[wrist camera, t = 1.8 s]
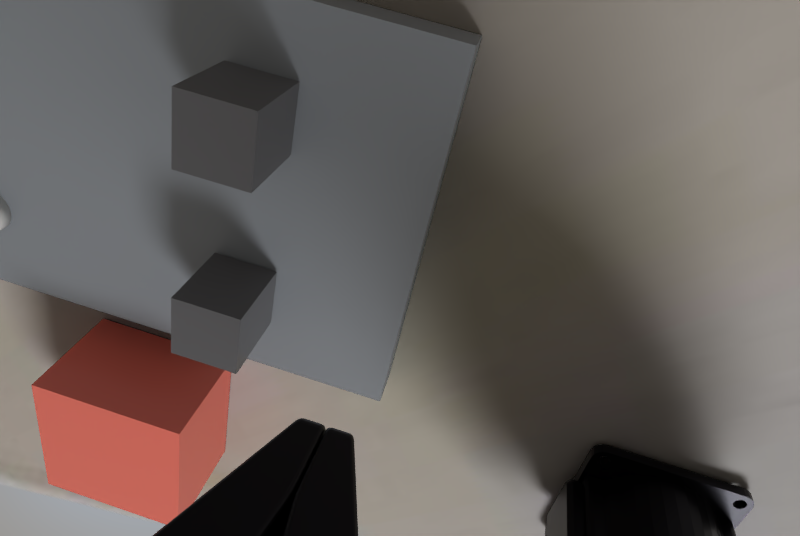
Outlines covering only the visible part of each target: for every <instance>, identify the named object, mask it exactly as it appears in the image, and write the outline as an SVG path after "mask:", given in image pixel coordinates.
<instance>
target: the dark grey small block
mask: <svg viewBox="0 0 800 536" xmlns="http://www.w3.org/2000/svg"><path fill="white" fill-rule="evenodd" d="M276 276H277V272H276V271H273V270H269V269H266V268H263V267H260V266H256V265H253V264H250V263H247V262H243V261H240V260H237V259H234V258H231V257H227V256H224V255H221V254H218V253H214V254H213V255H212V256H211V257H210V258H209V259H208V260H207V261H206V262H205V263H204V264H203V265H202V266H201V267H200V268H199V269H198V270H197V272H196V273H195V274H194V275H193V276H192V277H191V278H190V279H189V280H188V281H187V282H186V283H185V284H184V285H183V286H182V287H181V288H180V289H179V290H178V291H177V292H176V293H175V294H174V295H173V296H172V297H171V353H173V354H176V355H180V356H183V357H186V358H189V359H192V360H195V361H198V362H201V363H204V364H207V365H210V366H213V367H217V368H220V369H223V370H226V371H229V372H232V373H235V374H237V372H238V371H239V369H240V368H241V366H242V365H243V363H244V362H245V360H246V359H247V357H248V356H249V354H250V353H251V351H252V350H253V348H254V347H255V345H256V344H257V342H258V341H259V340H260V338H261V337H262V335H263V334H264V332H265V331H266V329H267V328H268V326H269V325H270V323H271V317H272V309H273V301H274V292H275V284H276Z"/></svg>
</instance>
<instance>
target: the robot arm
mask: <svg viewBox="0 0 800 536" xmlns="http://www.w3.org/2000/svg"><path fill="white" fill-rule="evenodd" d="M325 430H326V431H325ZM601 456H605V458H602V457H601ZM737 500H739V501H737ZM753 507H754V502H753V499H752V496H751V493H750V492H749V491H748V490H746V489H744V488H741V487H738V486H734V485H731V484H728V483H725V482H722V481H719V480H716V479H712V478H709V477H706V476H703V475H700V474H697V473H694V472H690V471H687V470H684V469H681V468H678V467H675V466H672V465H668V464H665V463H662V462H659V461H656V460H653V459H650V458H646V457H643V456H640V455H637V454H634V453H631V452H628V451H624V450H621V449H618V448H615V447H612V446H609V445H604V444H602V445H596V446H594V447H593V448H592V449H591V450H590V452H589V454H588V456H587V457H586V459H585V461H584V463H583V464H582V466H581V468H580V469H579V471H578V473H577V475H576V476H575V478H574V480H573V479H571V480H569V481H567V482H566V483H565V485H564V486H563V488H562V490H561V492H560V493H559V495H558V497H557V499H556V500H555V502H554V504H553V506H552V507H551V509H550V511H549V513H548V515H547V527H546V529H545V536H736V534H735V530H734V529H735V528H736V527H737V526H738V525H739V524H740V522H741V521H742V520H743V519H744V518H745V517H746V516H747V514H748V513H749V512H750V511H751V510H752V509H753ZM153 536H358V522H357V499H356V476H355V453H354V438H353V436H352V435H351V434H350V433H347V432H344V431H341V430H338V429H335V428H328V429H325V427H324V426H323V425H322V424H319V423H316V422H313V421H310V420H307V419H303V418H301V419H298V420H296V421H295V422H294V423H292V424H291V425H290V426H289V427H287V428H286V429H285V430H284V431H282V432H281V433H280V434H279V435H277V436H276V437H275V438H274V439H272V440H271V441H270V442H269V443H267V444H266V445H265V446H264V447H262V448H261V449H260V450H259V451H257V452H256V453H255V454H254V455H252V456H251V457H250V458H249V459H247V460H246V461H245V462H244V463H242V464H241V465H240V466H239V467H238V468H236V469H235V470H234V471H233V472H231V473H230V474H229V475H228V476H226V477H225V478H224V479H223V480H221V481H220V482H219V483H218V484H216V485H215V486H214V487H213V488H211V489H210V490H209V491H208V492H206V493H205V494H204V495H203V496H201V497H200V498H199V499H198V500H196V501H195V502H194V503H193V504H191V505H190V506H189V507H188V508H186V509H185V510H184V511H183V512H181V513H180V514H179V515H178V516H176V517H175V518H174V519H173V520H172V521H170V522H169V523H168V524H167V525H165V526H164V527H163V528H162V529H160V530H159V531H158V532H157V533H155V534H154V535H153Z"/></svg>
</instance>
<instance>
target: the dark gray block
mask: <svg viewBox="0 0 800 536" xmlns="http://www.w3.org/2000/svg"><path fill="white" fill-rule="evenodd" d="M299 83H300V82H299V81H295V80H292V79H288V78H285V77H281V76H278V75H274V74H271V73H267V72H264V71H260V70H257V69H253V68H250V67H246V66H243V65H239V64H236V63H232V62H229V61H225V60H224V61H222V62H220V63H218V64H216V65H214V66H212V67H210V68H208V69H206V70H204V71H202V72H200V73H197V74H195V75H193V76H191V77H189V78H187V79H185V80H183V81H181V82H179V83H177V84H175V85H173V86H172V148H171V169H172V170H175V171H179V172H182V173H185V174H189V175H192V176H195V177H199V178H202V179H205V180H209V181H212V182H215V183H219V184H222V185H225V186H229V187H232V188H235V189H239V190H242V191H245V192H249V193H252V192H253V191H254V190H255V189H256V188H257V187H259V186H260V185H261V184H262V183H263V182H264V181H265V180H266V179H267V178H268V177H269V176H270V175H271V174H272V173H273V172H274V171H275V170H276V169H277V168H278V167H279V166H280V165H281V164H282V163H283V162H284V161H285V160H287V159H288V158H289V157H290V156H291V150H292V141H293V133H294V125H295V116H296V108H297V100H298V91H299Z"/></svg>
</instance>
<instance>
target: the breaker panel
mask: <svg viewBox="0 0 800 536" xmlns="http://www.w3.org/2000/svg"><path fill="white" fill-rule="evenodd" d="M481 38H482V35H479V34H476V33H472V32H468V31H465V30H461V29H457V28H454V27H450V26H446V25H443V24H439V23H435V22H432V21H428V20H424V19H421V18H417V17H413V16H410V15H406V14H402V13H399V12H395V11H391V10H388V9H384V8H380V7H377V6H373V5H369V4H366V3H362V2H358V1H355V0H0V279H2V280H5V281H8V282H11V283H14V284H17V285H20V286H23V287H26V288H29V289H33V290H36V291H39V292H42V293H45V294H48V295H51V296H54V297H57V298H61V299H64V300H67V301H70V302H73V303H76V304H79V305H82V306H85V307H88V308H92V309H95V310H98V311H101V312H104V313H107V314H110V315H113V316H116V317H120V318H123V319H126V320H129V321H132V322H135V323H138V324H141V325H144V326H148V327H151V328H154V329H157V330H160V331H163V332H166V333H169V334H171V297H172V296H173V295H174V294H175V293H176V292H177V291H178V290H179V289H180V288H181V287H182V286H183V285H184V284H185V283H186V282H187V281H188V280H189V279H190V278H191V277H192V276H193V275H194V274H195V273H196V272H197V270H198V269H199V268H200V267H201V266H202V265H203V264H204V263H205V262H206V261H207V260H208V259H209V258H210V257H211V256H212V255H213V254H214V253H218V254H221V255H224V256H227V257H231V258H234V259H237V260H240V261H243V262H247V263H250V264H253V265H256V266H260V267H263V268H266V269H269V270H273V271H276V272H277V276H276V284H275V292H274V301H273V309H272V317H271V323H270V325H269V326H268V328H267V329H266V331H265V332H264V334H263V335H262V337H261V338H260V340H259V341H258V342H257V344H256V345H255V347H254V348H253V350H252V351H251V353H250V354H249V356H248V357H247V359H250V360H253V361H256V362H259V363H262V364H266V365H269V366H272V367H275V368H278V369H281V370H284V371H287V372H290V373H294V374H297V375H300V376H303V377H306V378H309V379H312V380H315V381H318V382H322V383H325V384H328V385H331V386H334V387H337V388H340V389H343V390H346V391H349V392H353V393H356V394H359V395H362V396H365V397H368V398H371V399H374V400H377V401H380V400H381V397H382V394H383V391H384V388H385V386H386V383H387V380H388V377H389V374H390V370H391V366H392V363H393V359H394V356H395V352H396V348H397V345H398V341H399V337H400V334H401V330H402V326H403V323H404V319H405V315H406V312H407V308H408V304H409V301H410V297H411V293H412V290H413V286H414V283H415V279H416V275H417V272H418V268H419V264H420V261H421V257H422V253H423V250H424V246H425V242H426V239H427V235H428V231H429V228H430V224H431V220H432V217H433V213H434V210H435V206H436V202H437V199H438V195H439V191H440V188H441V184H442V180H443V177H444V173H445V169H446V166H447V162H448V158H449V155H450V151H451V147H452V144H453V140H454V137H455V133H456V129H457V126H458V122H459V118H460V115H461V111H462V107H463V104H464V100H465V96H466V93H467V89H468V85H469V82H470V78H471V74H472V71H473V67H474V64H475V60H476V56H477V53H478V49H479V45H480V42H481ZM224 60H225V61H229V62H232V63H236V64H239V65H243V66H246V67H250V68H253V69H257V70H260V71H264V72H267V73H271V74H274V75H278V76H281V77H285V78H288V79H292V80H295V81H299V82H300V83H299V91H298V100H297V108H296V116H295V125H294V133H293V141H292V150H291V156H290V157H289V158H288V159H287V160H285V161H284V162H283V163H282V164H281V165H280V166H279V167H278V168H277V169H276V170H275V171H274V172H273V173H272V174H271V175H270V176H269V177H268V178H267V179H266V180H265V181H264V182H263V183H262V184H261V185H260V186H259V187H257V188H256V189H255V190H254V191H253V192H252V193H249V192H245V191H242V190H239V189H235V188H232V187H229V186H225V185H222V184H219V183H215V182H212V181H209V180H205V179H202V178H199V177H195V176H192V175H189V174H185V173H182V172H179V171H175V170H172V169H171V148H172V86H173V85H175V84H177V83H179V82H181V81H183V80H185V79H187V78H189V77H191V76H193V75H195V74H197V73H200V72H202V71H204V70H206V69H208V68H210V67H212V66H214V65H216V64H218V63H220V62H222V61H224Z"/></svg>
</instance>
